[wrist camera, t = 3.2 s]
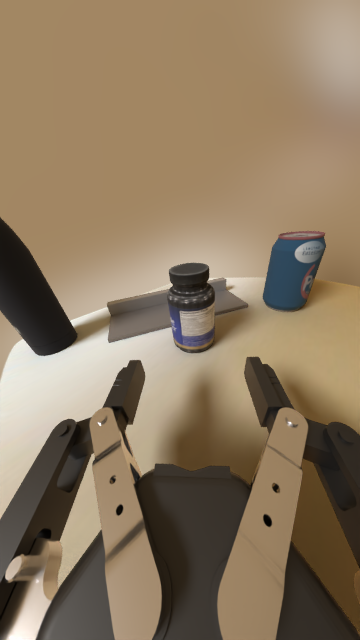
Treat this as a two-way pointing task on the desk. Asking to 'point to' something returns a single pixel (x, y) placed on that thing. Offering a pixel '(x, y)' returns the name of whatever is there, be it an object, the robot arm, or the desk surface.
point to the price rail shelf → (158, 311)
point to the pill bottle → (191, 307)
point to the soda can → (293, 269)
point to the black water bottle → (30, 298)
